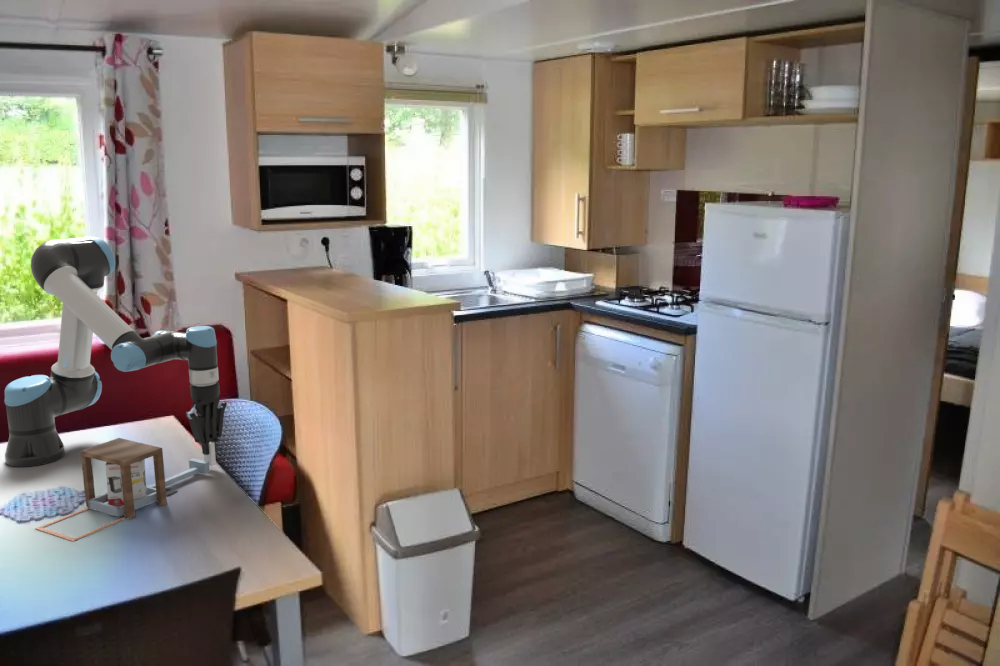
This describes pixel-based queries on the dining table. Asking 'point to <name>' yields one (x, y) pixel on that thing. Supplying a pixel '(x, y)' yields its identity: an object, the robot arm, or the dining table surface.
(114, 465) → the ink box
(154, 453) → the tunnel frame
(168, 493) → the pad
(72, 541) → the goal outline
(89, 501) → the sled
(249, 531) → the dining table surface
